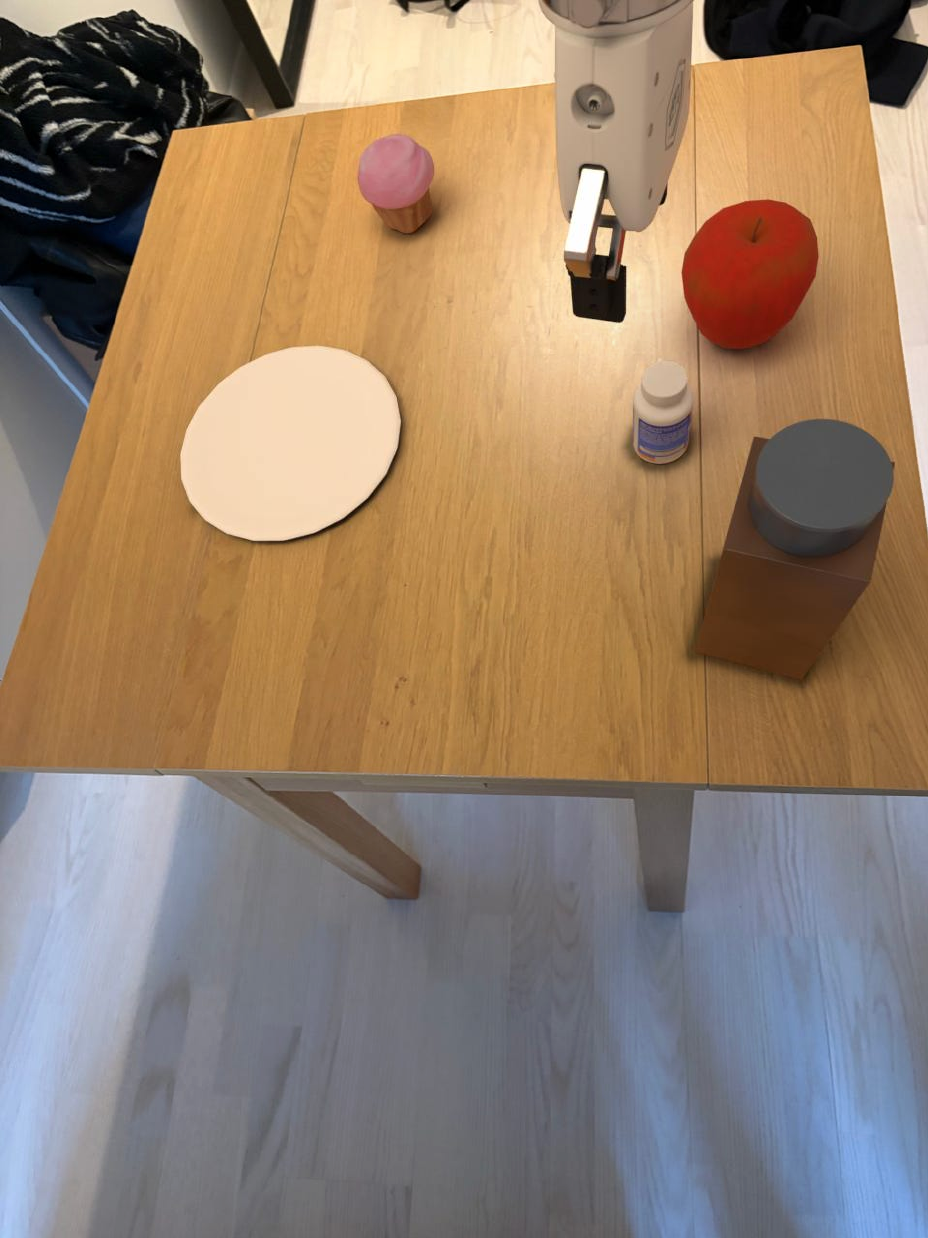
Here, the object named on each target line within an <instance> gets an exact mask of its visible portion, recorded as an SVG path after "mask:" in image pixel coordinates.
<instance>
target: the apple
mask: <svg viewBox="0 0 928 1238" xmlns="http://www.w3.org/2000/svg"><path fill="white" fill-rule="evenodd" d="M818 243H819V242H818V236H817V233H816V230H815V228H814V225H813V222H812V219H810V218H809V217H808V216H807V215H805V214H804V213H803V212H801V211H800V210H798V209H797V208H796V207H794V206H793V205H791V204H789V203H788V202H784V201H779V200H774V199H768V198H767V199H756V200H755V199H754V200H745V201H742V202H738V203H735V204H732V205H728V206H726V207H722V209H720V210H719V211H717V212H716V213H714V214H713V215H712V216H710V217H709V218H708V219H706V220H705V221H704V223H703V224H702V225H701V226H700V228H699V229H698V231H697V232H696V233H695V234H694V236H693V238H692V239H691V241H690V243H689V245H688V246H687V248H686V250H685V252H684V255H683V261H682V268H681V271H680V272H681V279H682V280H681V281H682V289H683V298H684V301H685V303H686V305H687V308H688V310H689V312H690V315H691V317H692V319H693V320H694V323H695V325H696V327H697V329H698V331H699V333H700V334H701V335H702V336H704V338H705V339H707V340H708V341H710V342H711V343H713V344H714V345H717V346H720V347H721V348H725V349H748V348H752V347H756V346H760V345H762V344H763V343H765V342H767V341H769V340H770V339H772V338H773V337H774V336H776V335H777V334H778V333H779V332H780V331H781V330H782V329H784V327H785V326H786V325H787V324H788V323H790V321H792V320H793V318H794V316H795V315H796V313H797V311H798V309H799V307H801V304H802V303H803V301H804V299H805V297H806V295H807V293H808V291H809V290H810V288H811V286H812V284H813V283H814V280H815V278H816V277H817V270H818V263H819V244H818Z"/></svg>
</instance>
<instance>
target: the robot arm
mask: <svg viewBox="0 0 928 1238" xmlns="http://www.w3.org/2000/svg"><path fill="white" fill-rule="evenodd" d="M694 1H695V0H538V5H539V8H540V10H541V13H542V14H543V15H544V17H545V18H546V19H547V21H549V22H550V23H551V24H552V25H553V26H554V72H553V73H554V75H553V77H554V117H555V119H554V120H555V148H556V149H555V150H556V167H557V181H558V192H559V199H560V205H561V206H560V207H561V211H562V215H563V217H564V219H565V221H566V222H567V223H568V224H569V227H568V231H567V235H566V238H565V239H566V240H565V244H564V250H563V262H564V264H565V268H566V270H567V275H568V276H569V279H570V295H571V306H572V308H571V309H572V314H573V315H574V316H575V317H577V318H579V319H580V318H582V319H587V320H588V319H589V320H594V321H602V322H609V323H616V324H620V323H623V322H624V320H625V317H626V315H627V265H623V264H622V259H623V253H624V252H623V251H624V248H625V247H624V246H625V240H626V233H627V232H635V233H642V232H643V231H645V230H646V229H647V228H649V226H651V224H652V223H653V222H654V219H655V217H656V215H657V212H658V209H659V207H660V206H663V205H664V204H665V203H666V200H667V196H668V186H669V185H668V184H669V179H670V177H671V174H672V171H673V168H674V165H675V162H676V160H677V157H678V153H679V150H680V148H681V144H682V142H683V138H684V135H685V132H686V130H687V129H686V128H687V126H688V125H687V124H688V120H689V113H690V103H691V102H690V101H691V83H692V82H691V77H692V54H693V52H692V50H693V28H694V27H693V25H694ZM606 200H608V202H609V204H610V207H611V208H612V210H613V213H614V214H606V213H603V208H604V204H605V201H606ZM599 228H605V229H612V231H611V237H610V243H609V251H608V255H606V254H605V255H604V254H597V247H596V241H597V235H598V230H599Z"/></svg>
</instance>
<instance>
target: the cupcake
mask: <svg viewBox="0 0 928 1238" xmlns="http://www.w3.org/2000/svg"><path fill="white" fill-rule="evenodd" d="M434 177H435V163H434V160H433V157H432V155H431V153H430V151H429V150H428V149H427V148H426V147H425V146H422V145H420V144H419V143H418V142H417V141H416V140H414V138H412V137H411V136H409V135H405V134H402V133H394V134H390V135H387V136H384V137H380V138H378V139H376V140H373V142H371V144H369V145H368V146H367V147H365V149H364V150H363V151H362V153H361V154H360V157H359V161H358V167H357V185H358V189H359V191H360V194H361V196H362V198H363V199H364V200H365V201H366V202H367V203H369V204H370V205H371V206H372V207H373V209H374V211H375V212H376V213H377V215H378V216H379V217H380V218H381V220H383V221H384V222H385V224H386V225H387V227H388V228H390V229H393V230H397V231H399V232H401V233H404V234H412V233H415V232H416V231H417V230H418V229H419V228H420V227H421V225H423V224H424V223H425V222H426V221H427V220H429V218H430V217H431V215H432V214H433V203H432V195H431V189H430V188H431V187H430V186H431V184H432V183H433V180H434Z"/></svg>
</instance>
